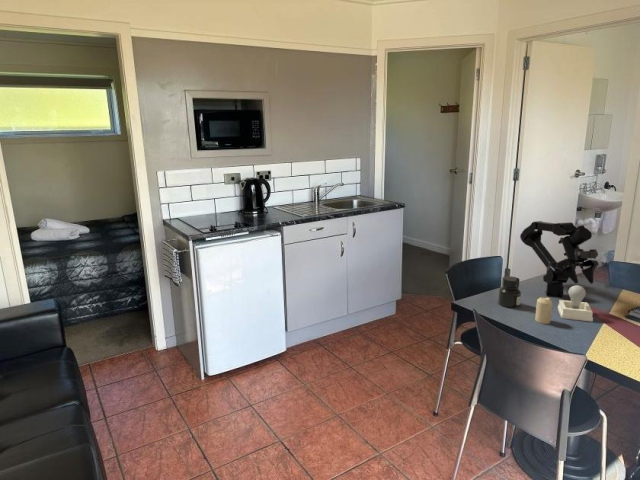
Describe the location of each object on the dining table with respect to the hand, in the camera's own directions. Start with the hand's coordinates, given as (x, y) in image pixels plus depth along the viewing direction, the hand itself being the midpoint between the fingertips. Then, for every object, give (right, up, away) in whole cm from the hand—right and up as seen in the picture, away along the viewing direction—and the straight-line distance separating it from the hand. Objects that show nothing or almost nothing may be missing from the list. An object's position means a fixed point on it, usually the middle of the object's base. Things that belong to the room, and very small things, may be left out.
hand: (584, 283), depth 187 cm
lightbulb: (-6, -11, -3) cm, 13 cm away
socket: (-6, -13, -3) cm, 14 cm away
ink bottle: (-28, -10, +9) cm, 31 cm away
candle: (-22, -15, -9) cm, 28 cm away
